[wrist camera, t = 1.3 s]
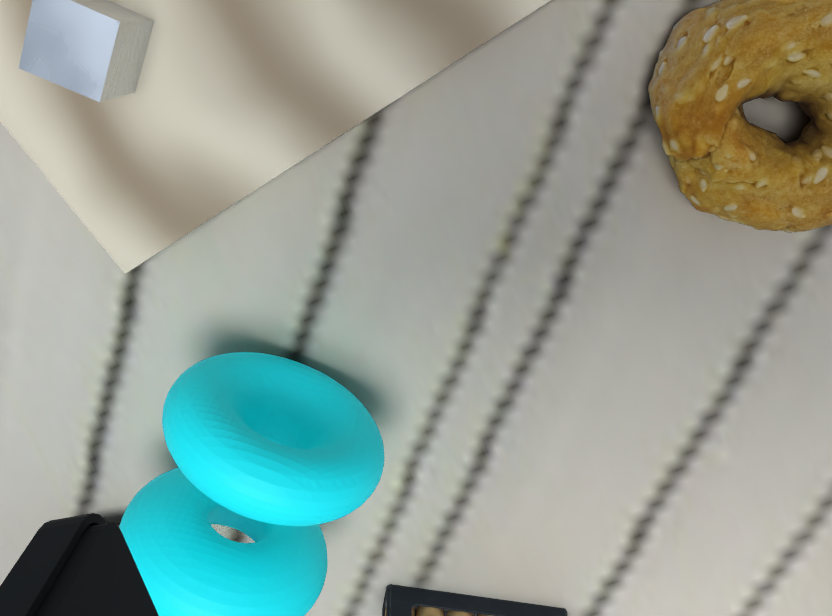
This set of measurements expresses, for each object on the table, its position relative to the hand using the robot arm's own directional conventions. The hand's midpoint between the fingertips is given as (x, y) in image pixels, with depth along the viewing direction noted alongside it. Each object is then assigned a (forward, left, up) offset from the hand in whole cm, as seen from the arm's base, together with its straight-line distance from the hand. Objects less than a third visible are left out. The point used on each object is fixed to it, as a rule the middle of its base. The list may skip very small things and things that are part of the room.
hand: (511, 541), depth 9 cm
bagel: (-13, +5, -26) cm, 29 cm away
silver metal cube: (+9, -11, -24) cm, 28 cm away
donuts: (+15, +8, -25) cm, 31 cm away
